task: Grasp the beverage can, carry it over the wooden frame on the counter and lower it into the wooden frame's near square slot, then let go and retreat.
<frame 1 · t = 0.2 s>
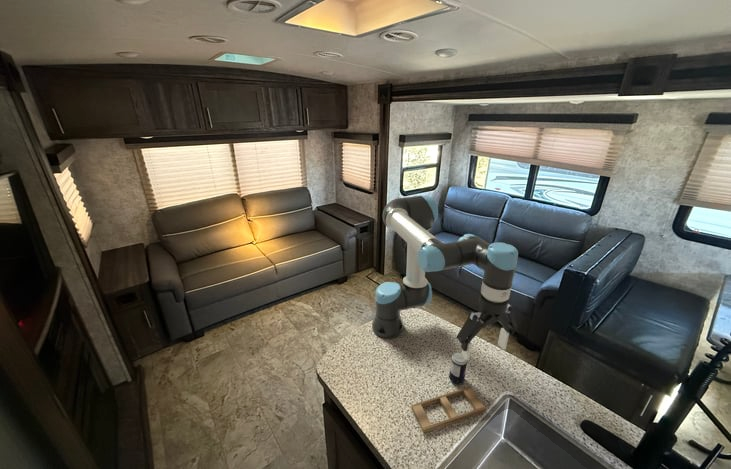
hand: (483, 351, 89), 27 cm above the worktop, fingers open, 13 cm apart
wooden frame: (448, 410, 100), on the worktop
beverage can: (456, 380, 111), on the worktop
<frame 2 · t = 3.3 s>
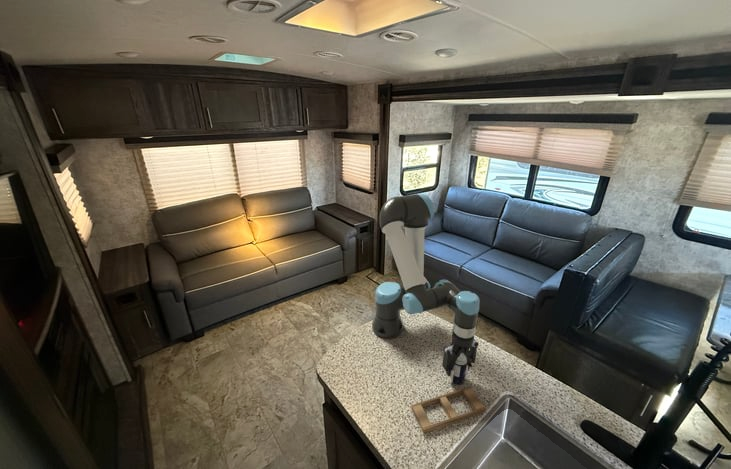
hand: (456, 378, 111), 1 cm above the worktop, fingers closed on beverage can, 6 cm apart
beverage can: (456, 380, 111), on the worktop, touching gripper
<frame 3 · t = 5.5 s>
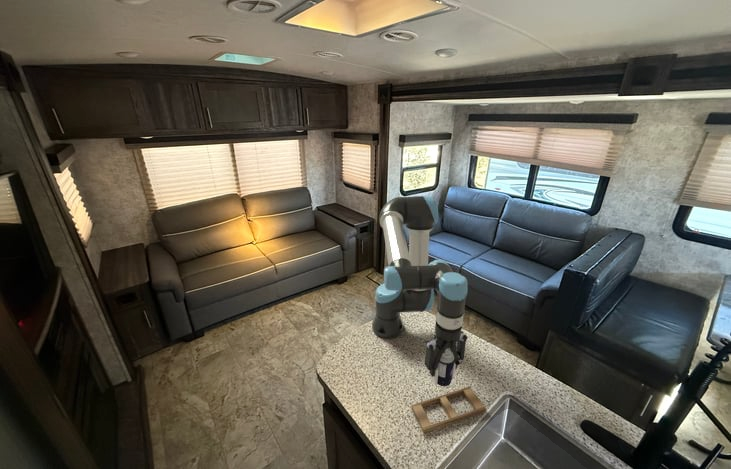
hand: (442, 378, 93), 16 cm above the worktop, fingers closed on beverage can, 6 cm apart
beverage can: (442, 381, 94), point 15 cm above the worktop, touching gripper
when the fingers open (4 cm above the worktop, at t = 7.8 s): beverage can drops 3 cm, resting in wooden frame.
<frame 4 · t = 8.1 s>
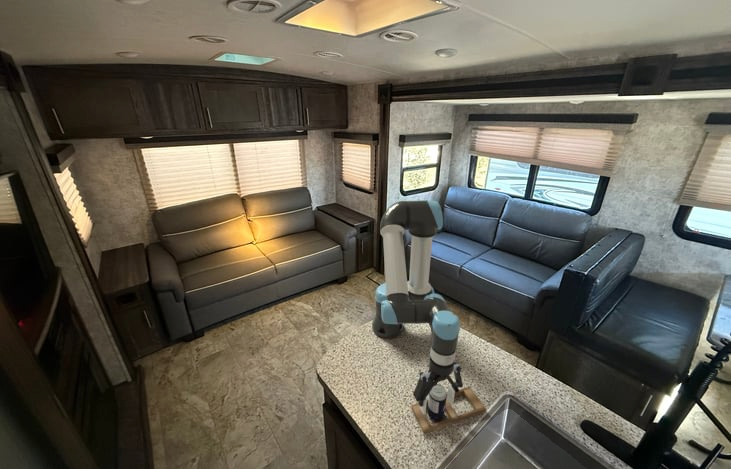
hand: (436, 406, 97), 4 cm above the worktop, fingers open, 10 cm apart
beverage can: (435, 415, 99), resting in wooden frame
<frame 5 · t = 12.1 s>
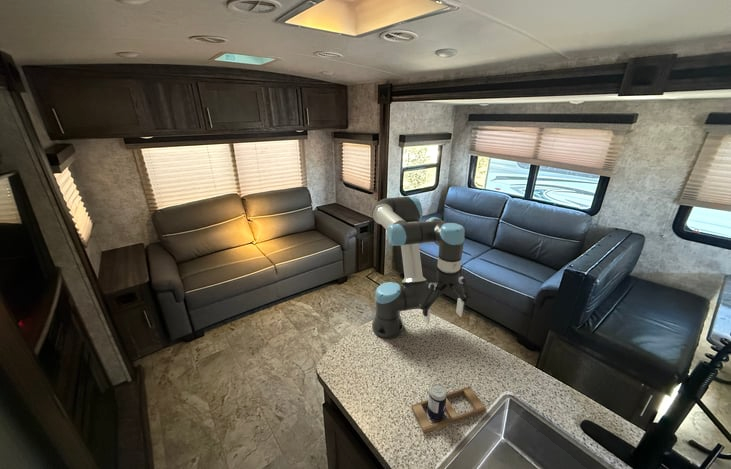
hand: (442, 318, 105), 27 cm above the worktop, fingers open, 13 cm apart
nothing on the worktop moved.
at the end: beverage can 0.1 cm from the target spot on the wooden frame, point 0.0 cm above the wooden frame's base; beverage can tilted 0°; the gripper is holding nothing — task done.
